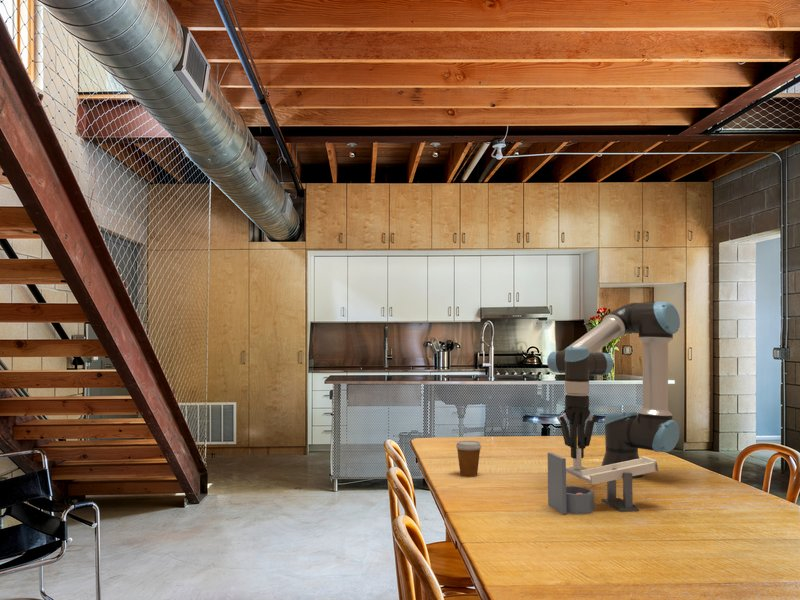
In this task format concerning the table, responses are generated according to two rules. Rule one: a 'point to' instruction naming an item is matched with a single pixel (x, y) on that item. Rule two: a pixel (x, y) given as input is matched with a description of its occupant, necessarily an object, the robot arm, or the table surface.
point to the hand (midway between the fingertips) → (577, 468)
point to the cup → (566, 490)
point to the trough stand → (627, 500)
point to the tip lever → (615, 470)
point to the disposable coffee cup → (468, 457)
